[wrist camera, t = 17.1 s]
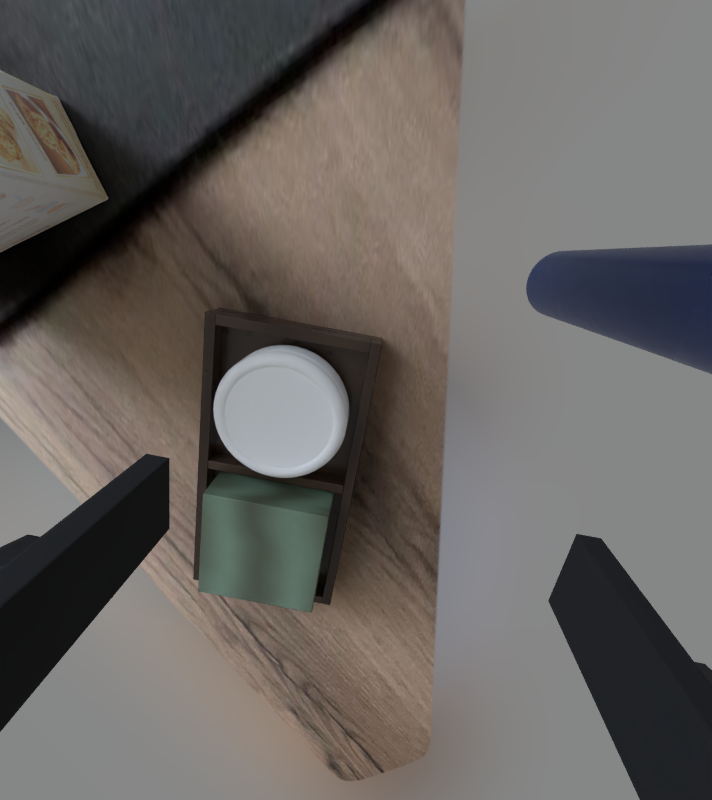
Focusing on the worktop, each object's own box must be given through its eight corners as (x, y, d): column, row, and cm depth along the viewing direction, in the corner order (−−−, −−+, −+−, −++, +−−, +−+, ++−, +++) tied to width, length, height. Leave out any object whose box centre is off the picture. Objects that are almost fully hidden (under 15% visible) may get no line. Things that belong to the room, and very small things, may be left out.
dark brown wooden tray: (382, 337, 31) (381, 352, 26) (333, 583, 40) (326, 628, 35) (219, 307, 31) (188, 316, 26) (205, 559, 40) (180, 601, 35)
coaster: (205, 373, 32) (184, 386, 29) (316, 322, 30) (308, 330, 27) (264, 474, 35) (252, 497, 31) (369, 434, 33) (368, 454, 30)
